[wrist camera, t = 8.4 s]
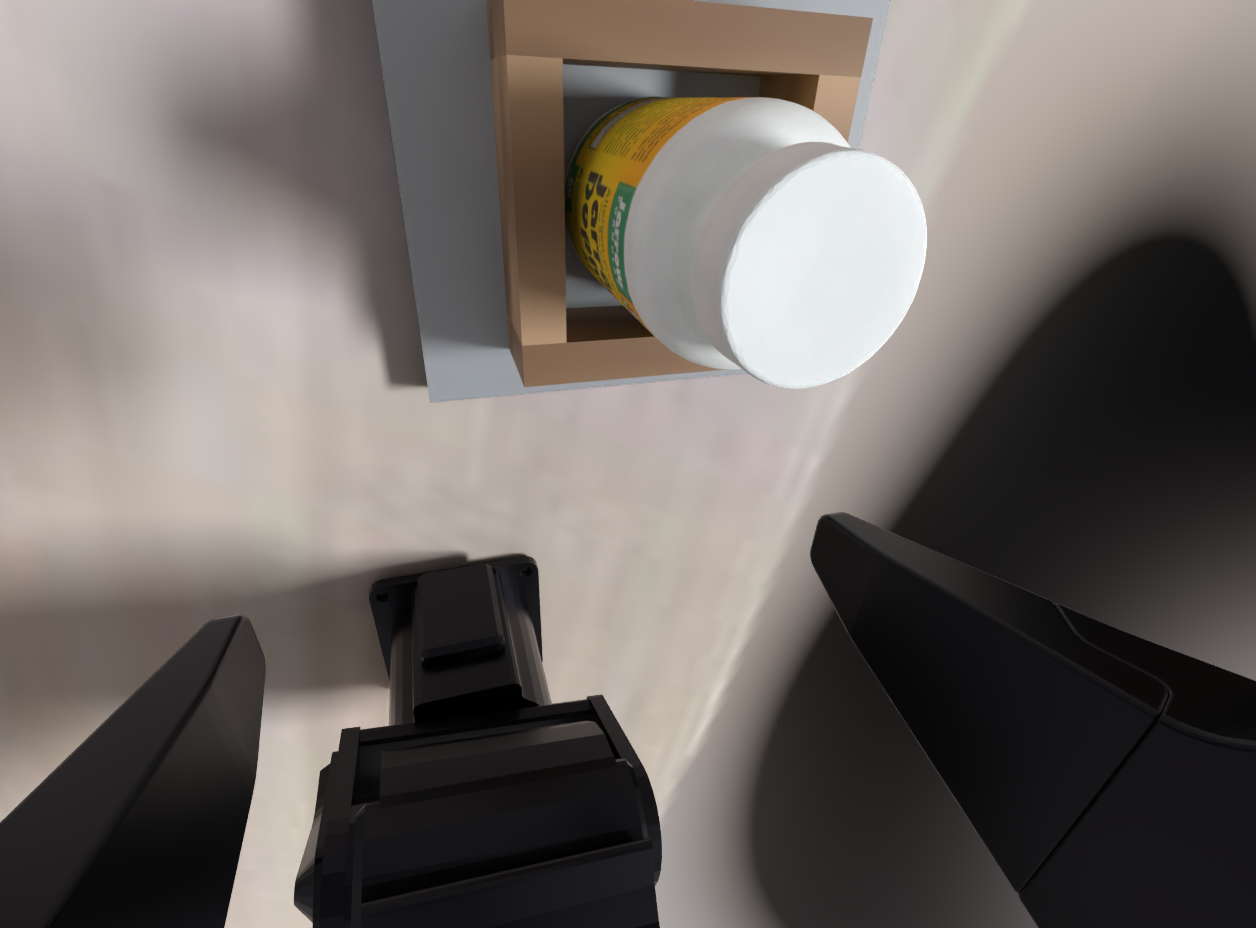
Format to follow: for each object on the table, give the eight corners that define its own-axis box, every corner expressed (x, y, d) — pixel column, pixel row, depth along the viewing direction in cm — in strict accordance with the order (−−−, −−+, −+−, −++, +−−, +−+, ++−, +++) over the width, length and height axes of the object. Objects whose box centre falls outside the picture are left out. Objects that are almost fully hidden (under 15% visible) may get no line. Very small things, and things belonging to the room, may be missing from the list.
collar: (757, 331, 21) (802, 362, 19) (509, 348, 19) (524, 387, 17) (805, 27, 17) (873, 17, 14) (485, -1, 14) (502, -18, 12)
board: (795, 356, 24) (812, 367, 23) (428, 387, 20) (429, 402, 19) (871, -30, 18) (898, -36, 17) (360, -91, 14) (356, -105, 13)
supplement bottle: (744, 247, 20) (966, 351, 12) (597, 318, 19) (727, 472, 12) (701, 60, 16) (965, 36, 9) (525, 142, 16) (635, 193, 8)
